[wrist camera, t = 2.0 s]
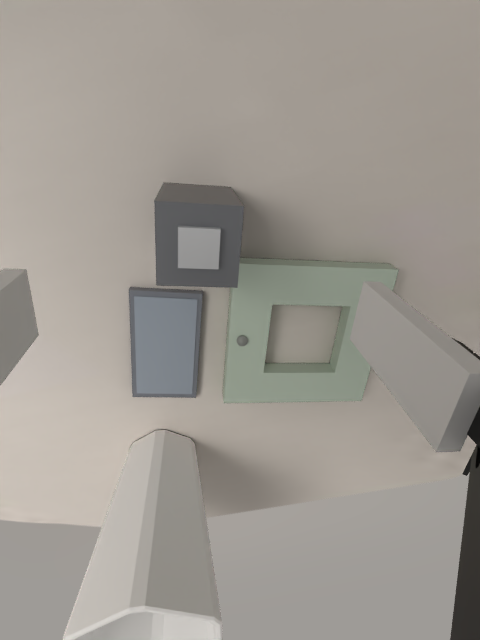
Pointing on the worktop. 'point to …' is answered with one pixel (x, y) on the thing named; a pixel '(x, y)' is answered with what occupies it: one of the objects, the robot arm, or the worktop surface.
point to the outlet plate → (295, 289)
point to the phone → (164, 341)
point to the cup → (151, 553)
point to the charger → (198, 235)
